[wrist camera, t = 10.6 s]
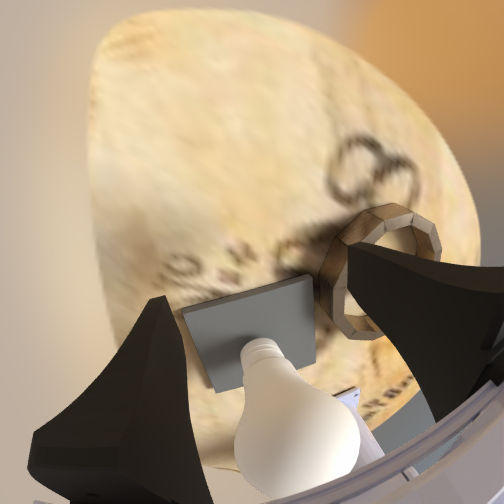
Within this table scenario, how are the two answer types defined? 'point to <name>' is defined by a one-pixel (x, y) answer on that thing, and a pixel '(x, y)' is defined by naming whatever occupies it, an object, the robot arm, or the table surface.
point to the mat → (253, 328)
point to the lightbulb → (289, 427)
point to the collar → (369, 231)
